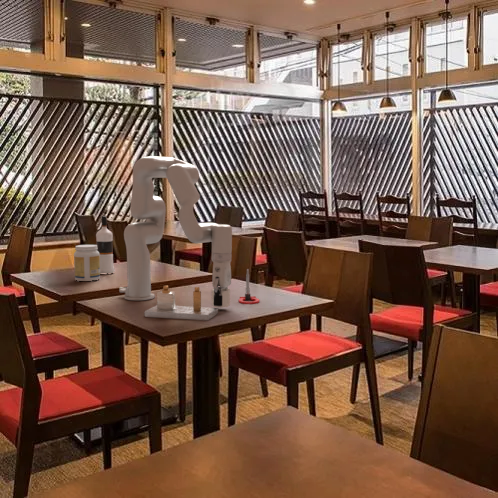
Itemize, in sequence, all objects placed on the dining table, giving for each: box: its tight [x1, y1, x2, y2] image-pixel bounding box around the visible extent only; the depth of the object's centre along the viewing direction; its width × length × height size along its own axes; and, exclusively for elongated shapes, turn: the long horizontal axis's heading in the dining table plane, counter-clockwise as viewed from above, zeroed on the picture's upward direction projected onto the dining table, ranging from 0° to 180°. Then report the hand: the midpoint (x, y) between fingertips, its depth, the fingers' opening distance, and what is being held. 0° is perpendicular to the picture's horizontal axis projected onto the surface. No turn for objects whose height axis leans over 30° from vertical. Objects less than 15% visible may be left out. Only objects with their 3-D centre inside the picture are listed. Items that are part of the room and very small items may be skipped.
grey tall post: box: [238, 268, 260, 305], centre depth 255 cm, size 8×13×9 cm
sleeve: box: [210, 288, 231, 308], centre depth 240 cm, size 7×7×6 cm
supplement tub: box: [73, 244, 101, 282], centre depth 307 cm, size 12×12×17 cm
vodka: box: [95, 215, 115, 274], centre depth 327 cm, size 9×9×30 cm
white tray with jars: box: [144, 285, 219, 321], centre depth 231 cm, size 24×12×10 cm, turn 76°
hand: (220, 303), depth 240 cm, fingers closed on sleeve, 6 cm apart
